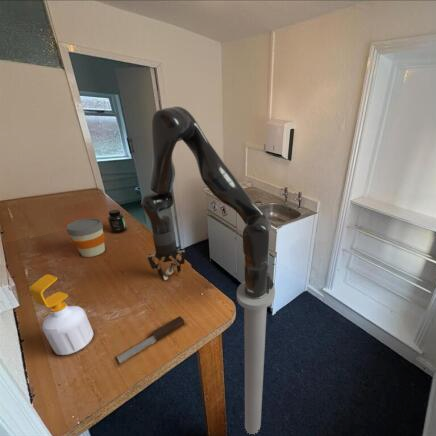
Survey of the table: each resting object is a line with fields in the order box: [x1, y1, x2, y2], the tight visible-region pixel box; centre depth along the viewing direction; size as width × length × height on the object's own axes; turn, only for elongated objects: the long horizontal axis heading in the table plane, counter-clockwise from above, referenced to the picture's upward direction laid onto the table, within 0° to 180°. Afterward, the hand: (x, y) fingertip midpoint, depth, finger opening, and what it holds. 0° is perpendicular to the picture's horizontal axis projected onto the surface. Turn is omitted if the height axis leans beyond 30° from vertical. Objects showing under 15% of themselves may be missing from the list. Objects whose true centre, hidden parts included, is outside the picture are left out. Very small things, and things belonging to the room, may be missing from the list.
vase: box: [162, 262, 177, 281], centre depth 100 cm, size 5×5×6 cm
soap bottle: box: [29, 273, 94, 356], centre depth 66 cm, size 9×9×25 cm
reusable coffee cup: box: [66, 217, 106, 258], centre depth 109 cm, size 13×13×15 cm
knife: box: [116, 315, 185, 364], centre depth 73 cm, size 19×3×2 cm, turn 139°
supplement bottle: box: [107, 209, 127, 234], centre depth 128 cm, size 7×7×12 cm
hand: (170, 273), depth 100 cm, fingers open, 6 cm apart
